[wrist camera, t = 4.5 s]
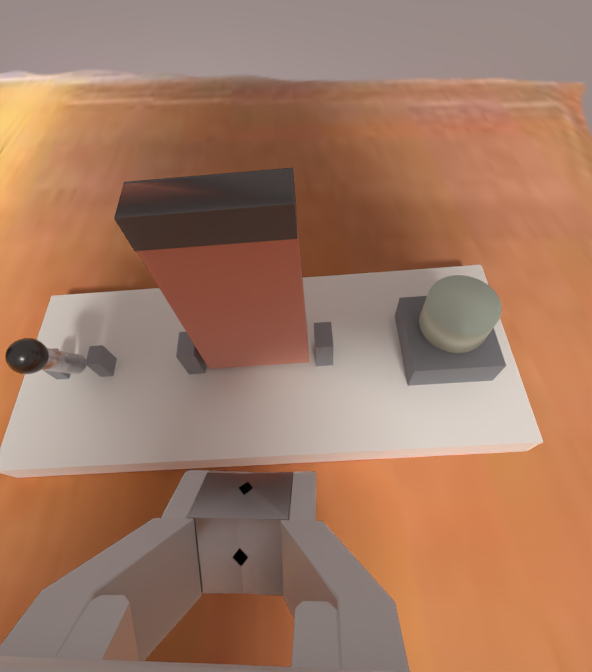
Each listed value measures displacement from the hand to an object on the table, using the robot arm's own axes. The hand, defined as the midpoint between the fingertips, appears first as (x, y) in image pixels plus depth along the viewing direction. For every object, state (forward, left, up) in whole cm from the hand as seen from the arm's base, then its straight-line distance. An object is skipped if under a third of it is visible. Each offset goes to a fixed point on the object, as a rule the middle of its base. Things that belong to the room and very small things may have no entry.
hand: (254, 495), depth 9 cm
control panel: (+9, -3, -14) cm, 17 cm away
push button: (+4, -13, -10) cm, 17 cm away
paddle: (+9, -3, -11) cm, 15 cm away
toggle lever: (+15, +6, -11) cm, 20 cm away
